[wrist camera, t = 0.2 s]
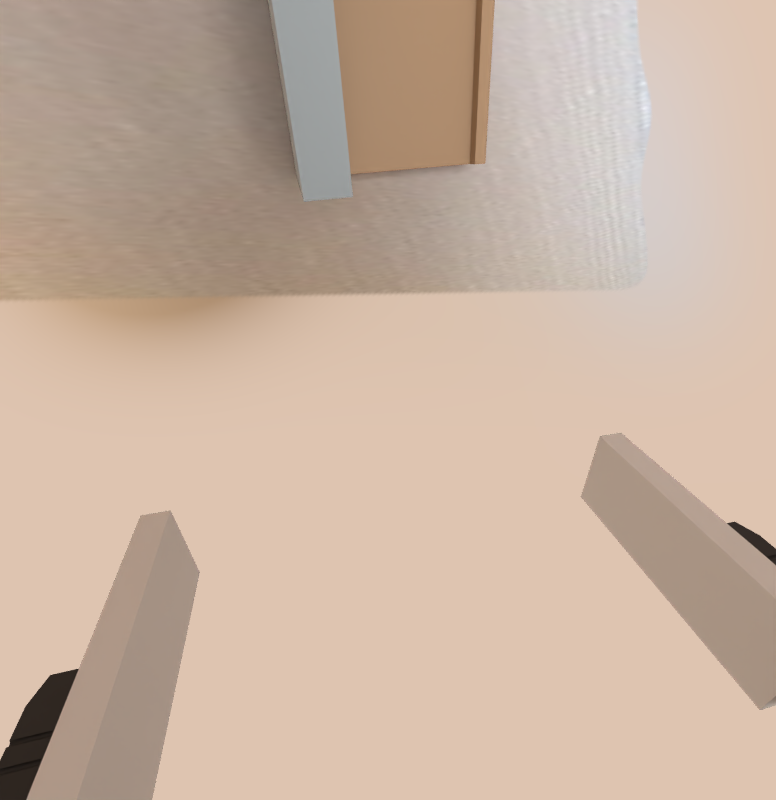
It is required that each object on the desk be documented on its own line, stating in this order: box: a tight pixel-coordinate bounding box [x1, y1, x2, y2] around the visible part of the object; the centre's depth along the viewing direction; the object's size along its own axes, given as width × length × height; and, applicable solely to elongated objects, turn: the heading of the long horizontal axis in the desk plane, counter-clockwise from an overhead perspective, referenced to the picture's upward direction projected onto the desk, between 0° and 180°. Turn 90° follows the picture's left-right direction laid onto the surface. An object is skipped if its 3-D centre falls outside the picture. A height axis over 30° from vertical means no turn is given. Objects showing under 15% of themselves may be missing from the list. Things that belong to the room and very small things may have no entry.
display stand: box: [268, 0, 495, 202], centre depth 21 cm, size 14×14×18 cm
